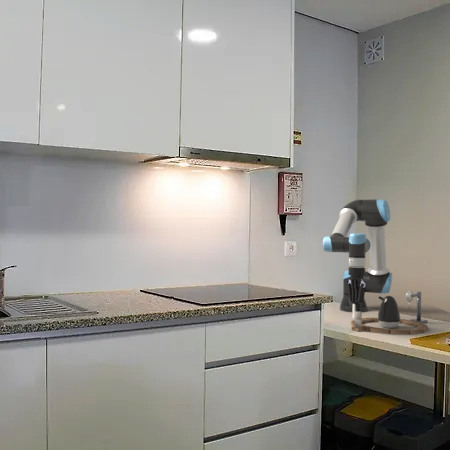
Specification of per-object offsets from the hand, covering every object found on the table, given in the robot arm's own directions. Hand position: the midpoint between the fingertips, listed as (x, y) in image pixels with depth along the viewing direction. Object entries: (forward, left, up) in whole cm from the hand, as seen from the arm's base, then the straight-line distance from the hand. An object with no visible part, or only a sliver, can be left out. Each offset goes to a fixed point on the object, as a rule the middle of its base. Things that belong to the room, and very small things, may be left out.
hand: (355, 317), depth 255 cm
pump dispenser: (-8, +17, -6) cm, 20 cm away
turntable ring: (-6, +15, -5) cm, 18 cm away
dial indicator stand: (-19, +33, -6) cm, 39 cm away
